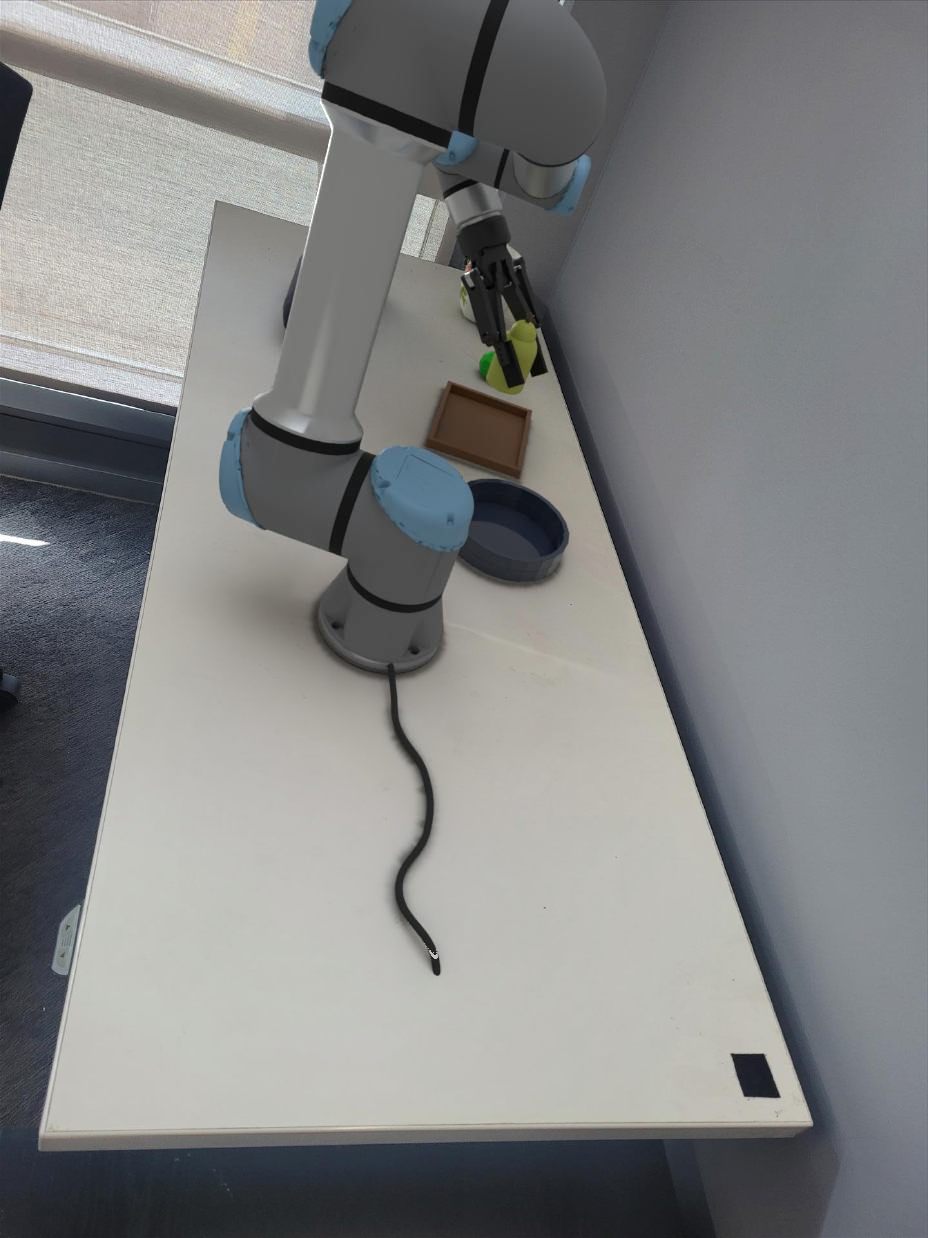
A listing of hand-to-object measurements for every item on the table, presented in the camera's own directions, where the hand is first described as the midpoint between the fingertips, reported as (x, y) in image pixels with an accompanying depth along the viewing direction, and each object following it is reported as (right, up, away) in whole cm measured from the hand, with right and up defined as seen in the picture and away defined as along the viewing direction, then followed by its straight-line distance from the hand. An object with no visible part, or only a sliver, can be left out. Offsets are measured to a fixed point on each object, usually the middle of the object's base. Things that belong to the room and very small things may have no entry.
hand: (528, 379), depth 125 cm
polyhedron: (-5, +8, +27) cm, 29 cm away
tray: (-7, -5, +13) cm, 16 cm away
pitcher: (-7, +25, +43) cm, 50 cm away
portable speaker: (-37, +17, +22) cm, 46 cm away
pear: (-3, 0, +3) cm, 5 cm away
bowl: (-4, -25, -5) cm, 26 cm away
